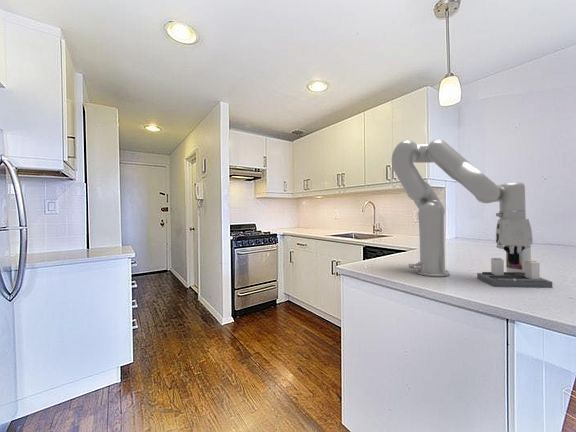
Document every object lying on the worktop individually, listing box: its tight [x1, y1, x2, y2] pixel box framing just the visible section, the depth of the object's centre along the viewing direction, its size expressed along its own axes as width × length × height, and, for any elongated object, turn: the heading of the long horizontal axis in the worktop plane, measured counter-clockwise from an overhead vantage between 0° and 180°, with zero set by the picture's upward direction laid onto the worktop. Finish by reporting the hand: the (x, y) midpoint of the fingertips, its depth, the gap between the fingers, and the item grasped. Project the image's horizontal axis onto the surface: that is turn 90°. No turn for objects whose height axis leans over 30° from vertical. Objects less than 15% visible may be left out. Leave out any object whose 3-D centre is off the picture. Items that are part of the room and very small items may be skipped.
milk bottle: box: [505, 246, 532, 272], centre depth 110 cm, size 8×8×20 cm
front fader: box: [525, 260, 541, 279], centre depth 96 cm, size 2×4×6 cm
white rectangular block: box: [490, 257, 505, 275], centre depth 103 cm, size 2×4×6 cm
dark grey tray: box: [476, 271, 553, 289], centre depth 100 cm, size 18×12×3 cm, turn 79°
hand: (513, 263), depth 102 cm, fingers closed
